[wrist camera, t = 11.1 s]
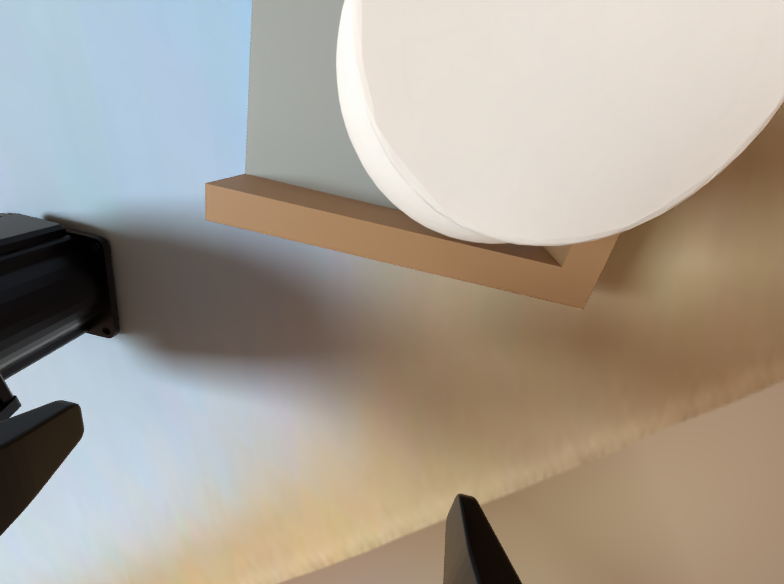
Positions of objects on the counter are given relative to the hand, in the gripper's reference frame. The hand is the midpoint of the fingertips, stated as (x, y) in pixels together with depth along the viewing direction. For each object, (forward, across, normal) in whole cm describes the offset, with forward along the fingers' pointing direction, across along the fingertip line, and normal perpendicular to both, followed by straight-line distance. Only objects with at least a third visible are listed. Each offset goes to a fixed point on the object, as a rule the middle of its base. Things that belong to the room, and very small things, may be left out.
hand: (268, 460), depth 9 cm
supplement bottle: (+12, -3, -9) cm, 15 cm away
